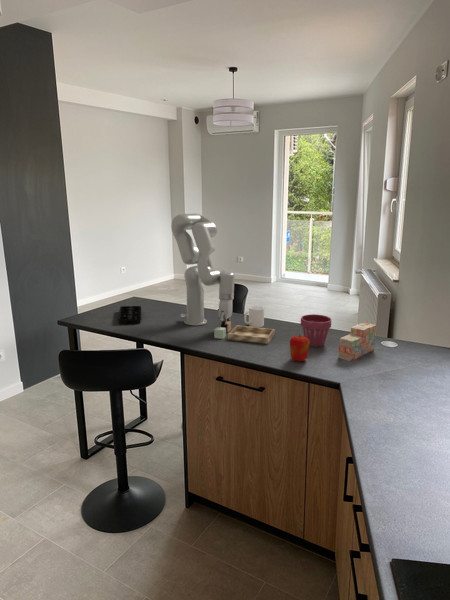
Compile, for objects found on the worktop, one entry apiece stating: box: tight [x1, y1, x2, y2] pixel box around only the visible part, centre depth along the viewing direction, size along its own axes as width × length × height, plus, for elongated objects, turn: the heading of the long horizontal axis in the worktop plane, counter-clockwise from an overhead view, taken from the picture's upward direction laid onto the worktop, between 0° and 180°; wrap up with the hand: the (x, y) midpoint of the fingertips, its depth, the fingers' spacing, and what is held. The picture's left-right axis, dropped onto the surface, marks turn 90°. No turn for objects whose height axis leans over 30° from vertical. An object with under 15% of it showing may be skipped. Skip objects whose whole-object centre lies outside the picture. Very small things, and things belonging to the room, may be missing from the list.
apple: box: [289, 333, 310, 362], centre depth 182 cm, size 9×8×12 cm
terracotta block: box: [219, 320, 232, 333], centre depth 222 cm, size 4×4×4 cm
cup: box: [243, 305, 265, 328], centre depth 231 cm, size 8×12×10 cm
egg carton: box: [117, 305, 142, 326], centre depth 245 cm, size 18×30×4 cm, turn 23°
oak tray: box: [227, 325, 276, 345], centre depth 213 cm, size 20×15×3 cm
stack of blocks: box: [337, 322, 377, 362], centre depth 191 cm, size 21×6×12 cm, turn 135°
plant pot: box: [300, 313, 332, 348], centre depth 203 cm, size 14×14×13 cm
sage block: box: [213, 326, 227, 340], centre depth 213 cm, size 4×4×4 cm
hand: (225, 329), depth 223 cm, fingers closed on terracotta block, 4 cm apart
